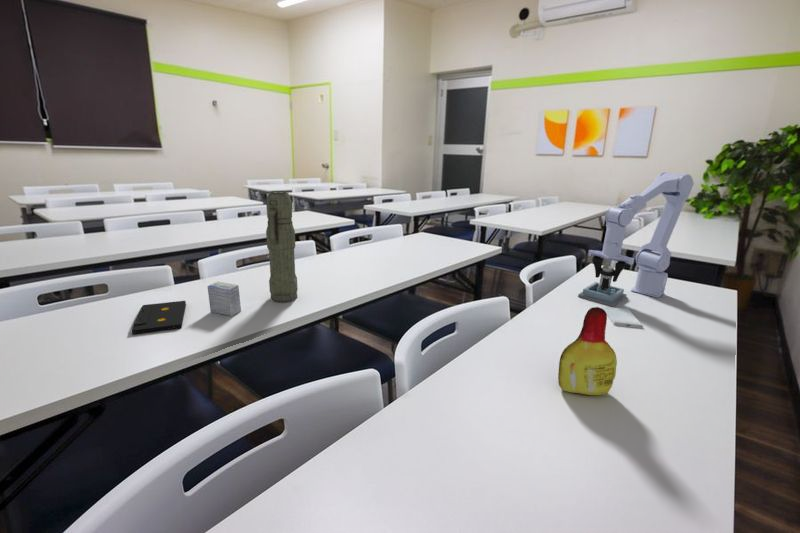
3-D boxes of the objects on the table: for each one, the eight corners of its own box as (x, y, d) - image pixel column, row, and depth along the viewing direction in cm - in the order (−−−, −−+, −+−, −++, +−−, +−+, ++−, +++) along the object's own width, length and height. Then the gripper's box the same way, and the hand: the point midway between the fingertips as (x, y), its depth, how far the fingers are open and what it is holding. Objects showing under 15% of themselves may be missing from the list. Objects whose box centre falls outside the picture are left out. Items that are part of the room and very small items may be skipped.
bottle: (558, 397, 86) (574, 312, 80) (550, 380, 92) (564, 300, 86) (615, 401, 85) (635, 315, 79) (603, 384, 91) (621, 303, 85)
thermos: (264, 303, 128) (256, 193, 117) (276, 290, 139) (270, 189, 129) (292, 305, 128) (286, 195, 117) (302, 291, 139) (297, 190, 128)
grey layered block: (241, 311, 122) (239, 284, 119) (231, 316, 118) (228, 289, 115) (220, 307, 124) (218, 280, 122) (210, 312, 120) (206, 285, 118)
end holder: (626, 297, 146) (628, 289, 145) (613, 306, 136) (615, 298, 135) (592, 288, 154) (593, 280, 153) (578, 296, 144) (579, 289, 143)
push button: (611, 290, 147) (617, 265, 143) (617, 296, 142) (623, 271, 139) (592, 289, 148) (598, 264, 144) (597, 295, 143) (603, 269, 139)
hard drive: (602, 306, 134) (614, 321, 122) (629, 309, 132) (643, 324, 121) (601, 310, 134) (613, 326, 122) (628, 313, 133) (642, 329, 121)
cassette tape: (143, 310, 121) (142, 304, 120) (186, 306, 126) (185, 299, 125) (132, 336, 105) (131, 329, 105) (181, 330, 110) (180, 323, 109)
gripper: (587, 239, 141) (581, 276, 145) (632, 248, 131) (624, 287, 135) (595, 237, 146) (588, 272, 150) (639, 245, 136) (630, 282, 140)
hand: (605, 279), depth 143 cm, fingers closed on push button, 5 cm apart
